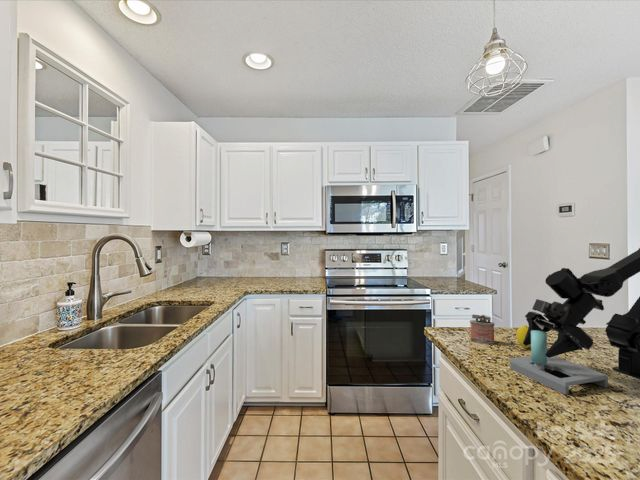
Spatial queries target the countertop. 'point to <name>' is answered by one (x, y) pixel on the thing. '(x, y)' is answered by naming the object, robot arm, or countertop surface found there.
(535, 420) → the countertop surface
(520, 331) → the lemon
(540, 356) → the peg
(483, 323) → the lighter
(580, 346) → the robot arm
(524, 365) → the keyhole plate
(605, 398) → the countertop surface
